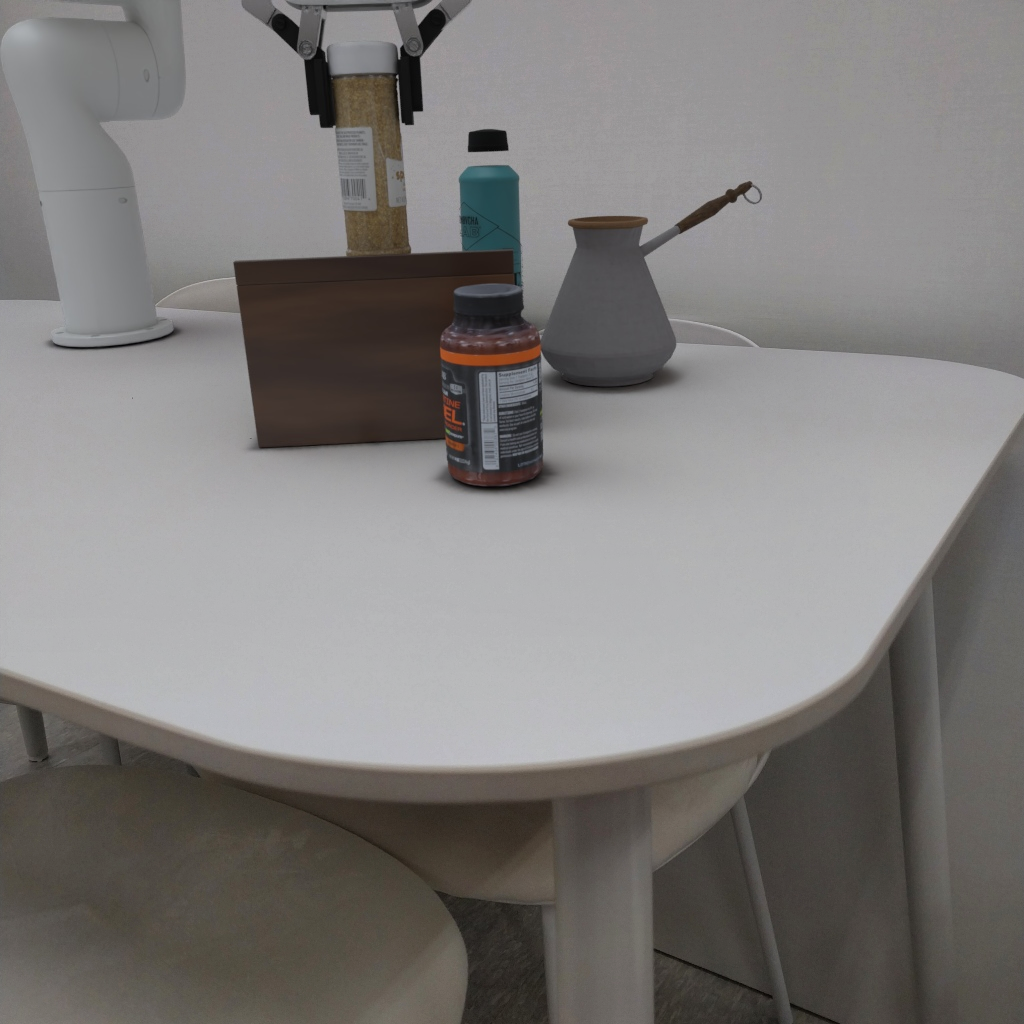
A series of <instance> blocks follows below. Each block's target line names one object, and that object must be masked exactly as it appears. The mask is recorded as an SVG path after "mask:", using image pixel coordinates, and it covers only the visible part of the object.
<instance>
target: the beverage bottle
mask: <svg viewBox="0 0 1024 1024" xmlns="http://www.w3.org/2000/svg"><path fill="white" fill-rule="evenodd" d="M467 136H468V139H467V141H468V142H467V153H491V152H492V153H493V152H509V142H508V133H507V130H503V129H496V128H483V129H477V130H472V131H469V132H468V135H467ZM458 183H459V202H460V203H459V204H460V207H459V210H458V211H459V213H460V214H459V215H458V217H459V219H458V220H459V221H458V222H459V225H460V230H459V237H461V251H478V250H502V249H513V255H514V285H515V286H519V287H521V288H522V290H524V282H523V277H524V275H523V270H522V268H524V265H523V263H522V261H524V260H523V256H522V255H523V252H522V251H523V245H522V243H521V220H520V219H521V216H520V214H521V213H520V212H521V211H520V175H519V173H517V171H516V170H514V168H513V167H511V166H510V165H509V164H492V165H491V164H488V165H487V164H486V165H485V164H484V165H470V166H467V167H466V168H465V169H464V170H463V171H462V173H460V175H459V177H458ZM524 300H525V299H524V296H523V303H524V302H525V301H524ZM522 311H523V310H522ZM522 311H521V313H522Z"/></svg>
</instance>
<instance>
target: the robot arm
mask: <svg viewBox="0 0 1024 1024" xmlns="http://www.w3.org/2000/svg"><path fill="white" fill-rule="evenodd" d="M46 1H47V2H56V3H64V4H65V3H66V4H81V5H82V4H83V5H97V6H98V5H99V6H115V7H121V8H122V12H123V14H124V18H125V20H104V19H103V20H101V19H93V18H75V17H53V16H52V17H49V16H48V17H34V18H30V19H29V18H28V19H24V20H21V21H19V22H17V23H14V24H13V25H12V26H10V27H9V28H7V30H6V31H5V33H4V35H3V37H2V39H1V43H0V64H1V69H2V72H3V76H4V79H5V82H6V85H7V88H8V90H9V93H10V96H11V98H12V101H13V104H14V107H15V109H16V111H17V115H18V118H19V121H20V124H21V126H22V130H23V133H24V137H25V141H26V144H27V148H28V152H29V156H30V161H31V166H32V170H33V174H34V180H35V184H36V189H37V192H38V198H39V203H40V208H41V213H42V218H43V223H44V228H45V232H46V237H47V243H48V248H49V252H50V256H51V257H50V258H51V261H52V266H53V267H52V268H53V271H54V277H55V281H56V286H57V287H56V288H57V292H58V297H59V301H60V306H61V311H62V317H63V321H64V325H62V326H59V327H56V328H55V329H53V330H52V331H51V333H50V335H51V340H52V343H54V344H55V345H58V346H62V347H70V348H71V347H73V348H74V347H75V348H94V347H109V346H119V345H120V346H121V345H129V344H135V343H140V342H146V341H151V340H155V339H159V338H162V337H165V336H168V335H170V334H172V333H173V331H174V322H173V320H172V319H170V318H168V317H164V316H158V315H157V309H156V304H155V303H156V302H155V295H154V291H153V285H152V279H151V273H150V267H149V261H148V255H147V248H146V243H145V237H144V231H143V226H142V225H143V224H142V218H141V212H140V208H139V202H138V195H137V189H136V183H135V178H134V172H133V169H132V166H131V163H130V161H129V159H128V157H127V155H126V154H125V152H124V151H123V150H122V148H121V147H120V146H119V145H118V144H117V142H116V141H115V140H114V139H113V138H112V137H111V136H110V134H109V133H108V132H107V131H106V129H104V127H103V126H102V125H101V123H109V122H126V121H127V122H128V121H130V122H133V121H158V120H165V119H170V118H172V117H173V116H175V115H177V114H178V113H179V111H180V110H181V108H182V106H183V104H184V101H185V97H186V85H187V75H186V74H187V73H186V72H187V71H186V55H185V44H184V43H185V41H184V28H183V26H184V25H183V14H182V13H183V12H182V0H46ZM284 1H285V2H286V4H288V5H289V6H290V7H292V8H293V9H296V10H299V11H301V12H300V20H299V25H298V24H297V23H296V22H295V21H294V20H292V19H291V18H290V17H289V16H288V15H286V14H285V13H284V12H282V11H281V10H280V9H278V8H276V7H275V5H274V4H273V1H272V0H241V1H240V2H241V6H242V8H243V10H244V11H245V12H247V13H248V14H250V15H251V16H252V17H254V18H255V19H256V20H257V21H259V22H261V23H262V24H264V25H265V26H266V27H268V29H270V30H272V31H273V32H275V34H276V35H278V36H279V38H281V39H282V41H284V42H285V43H286V44H287V45H288V46H289V47H290V48H291V49H292V50H293V51H294V52H295V53H296V54H297V55H298V56H299V57H300V58H301V59H302V60H303V63H304V73H305V74H304V75H305V84H306V95H307V103H308V104H307V105H308V112H309V115H310V116H318V119H319V127H320V128H321V129H333V128H334V127H336V124H335V111H334V110H335V109H334V99H333V86H332V84H331V82H330V81H331V80H332V77H330V76H329V74H328V64H327V54H326V51H325V50H324V49H323V47H324V39H325V32H326V24H327V17H328V13H349V12H350V13H353V12H380V11H382V12H383V11H384V12H385V11H386V12H387V11H392V12H393V14H394V18H395V21H396V25H397V28H398V31H399V35H400V38H401V42H402V45H401V46H400V47H399V58H398V59H397V66H398V75H397V79H398V95H399V110H400V123H401V124H404V126H415V119H414V113H420V112H421V113H423V112H424V98H423V84H422V82H423V81H422V66H421V58H422V57H423V55H424V54H425V53H426V51H427V50H428V49H429V48H430V47H431V45H432V44H433V43H434V42H435V41H436V39H437V38H438V37H439V35H440V34H441V33H442V32H443V31H444V29H445V28H447V26H449V25H450V24H451V23H452V22H453V21H455V19H457V18H458V17H459V16H460V15H461V14H462V13H463V12H464V11H466V10H467V9H468V8H469V7H470V6H471V4H472V1H473V0H441V1H440V2H439V3H438V4H437V5H436V6H435V7H433V9H431V10H430V11H428V12H427V14H426V15H425V16H424V18H423V19H422V20H421V22H419V24H418V22H417V18H416V14H415V11H414V10H415V9H420V8H423V7H425V6H427V5H429V4H430V3H432V2H433V0H284Z"/></svg>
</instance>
